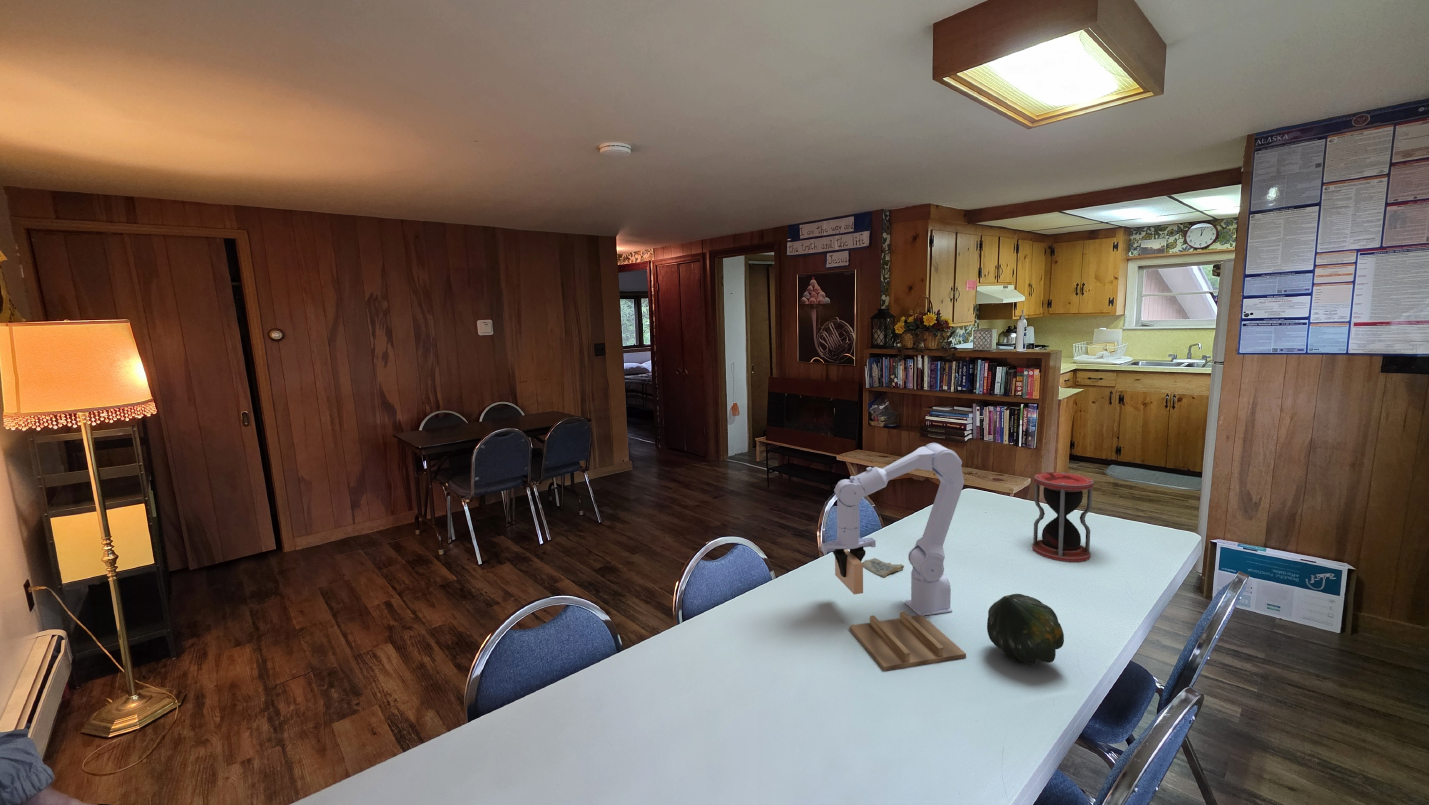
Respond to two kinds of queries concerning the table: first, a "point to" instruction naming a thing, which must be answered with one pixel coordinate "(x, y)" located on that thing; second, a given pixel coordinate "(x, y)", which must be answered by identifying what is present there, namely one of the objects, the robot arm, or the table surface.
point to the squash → (1024, 629)
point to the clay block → (851, 573)
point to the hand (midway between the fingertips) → (848, 575)
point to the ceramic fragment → (881, 567)
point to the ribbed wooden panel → (905, 642)
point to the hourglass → (1062, 517)
